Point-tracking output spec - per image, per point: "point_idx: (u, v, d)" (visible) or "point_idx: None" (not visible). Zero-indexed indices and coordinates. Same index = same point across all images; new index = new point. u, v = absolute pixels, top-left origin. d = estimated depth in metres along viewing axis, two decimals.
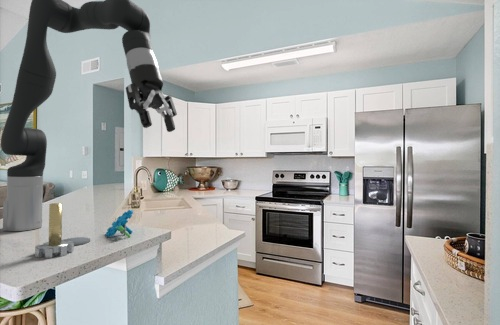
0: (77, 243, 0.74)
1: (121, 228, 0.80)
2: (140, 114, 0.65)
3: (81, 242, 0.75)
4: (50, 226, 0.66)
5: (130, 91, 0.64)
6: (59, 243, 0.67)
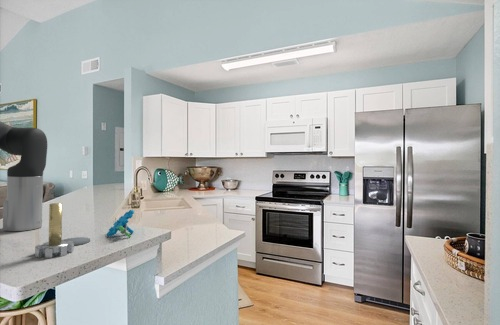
0: (77, 243, 0.74)
1: (121, 228, 0.80)
2: None
3: (81, 242, 0.75)
4: (50, 226, 0.66)
5: None
6: (59, 243, 0.67)
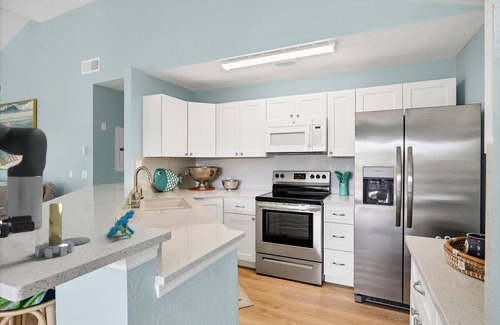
0: (77, 243, 0.74)
1: (122, 228, 0.80)
2: None
3: (81, 242, 0.75)
4: (50, 226, 0.66)
5: None
6: (59, 243, 0.67)
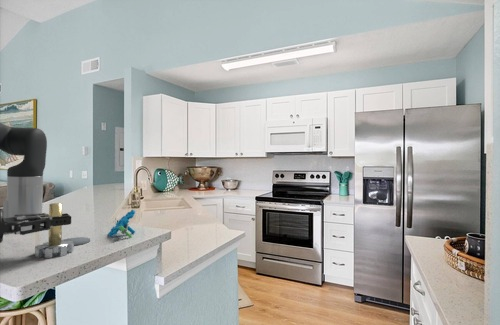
0: (77, 243, 0.74)
1: (122, 228, 0.80)
2: None
3: (81, 242, 0.75)
4: None
5: None
6: (59, 243, 0.67)
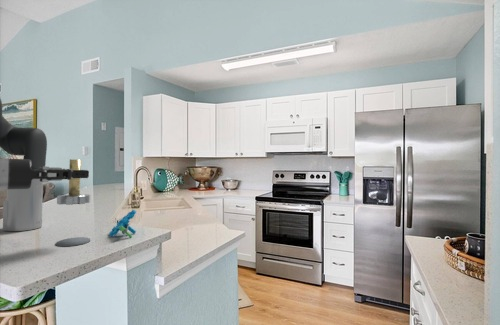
0: (77, 243, 0.74)
1: (122, 228, 0.80)
2: None
3: (81, 242, 0.75)
4: None
5: None
6: (78, 194, 0.76)
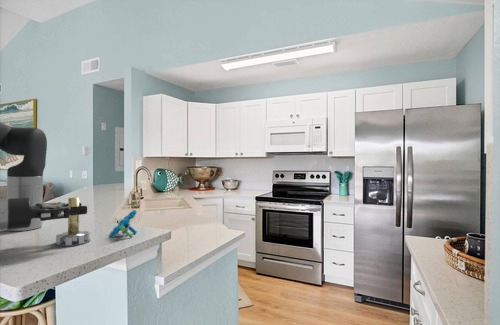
0: None
1: (122, 228, 0.80)
2: None
3: None
4: (69, 217, 0.75)
5: None
6: (77, 233, 0.76)
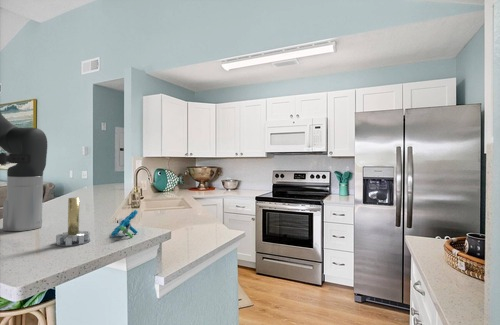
0: None
1: (122, 228, 0.80)
2: None
3: None
4: (69, 217, 0.75)
5: None
6: (77, 233, 0.76)
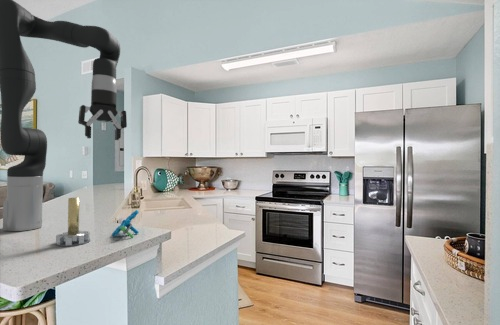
0: None
1: (123, 228, 0.80)
2: (85, 128, 0.89)
3: None
4: (69, 217, 0.75)
5: (80, 111, 0.88)
6: (77, 233, 0.76)
